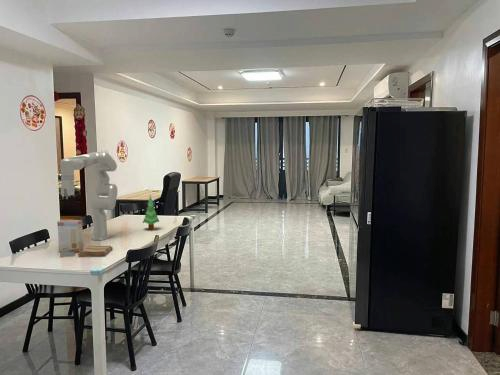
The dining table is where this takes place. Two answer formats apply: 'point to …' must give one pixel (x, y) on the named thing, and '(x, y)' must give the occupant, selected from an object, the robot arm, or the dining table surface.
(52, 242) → the dining table surface
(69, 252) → the bracket
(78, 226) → the cracker box
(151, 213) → the decorative tree
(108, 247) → the plinth
